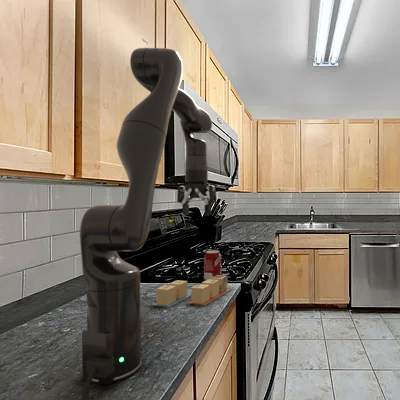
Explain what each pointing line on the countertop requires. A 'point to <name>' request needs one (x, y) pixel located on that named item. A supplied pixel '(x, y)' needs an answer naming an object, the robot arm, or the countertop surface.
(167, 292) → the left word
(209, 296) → the wooden blocks on tray
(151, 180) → the robot arm
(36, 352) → the countertop surface
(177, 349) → the countertop surface
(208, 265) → the soda can
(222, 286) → the small cardboard box
